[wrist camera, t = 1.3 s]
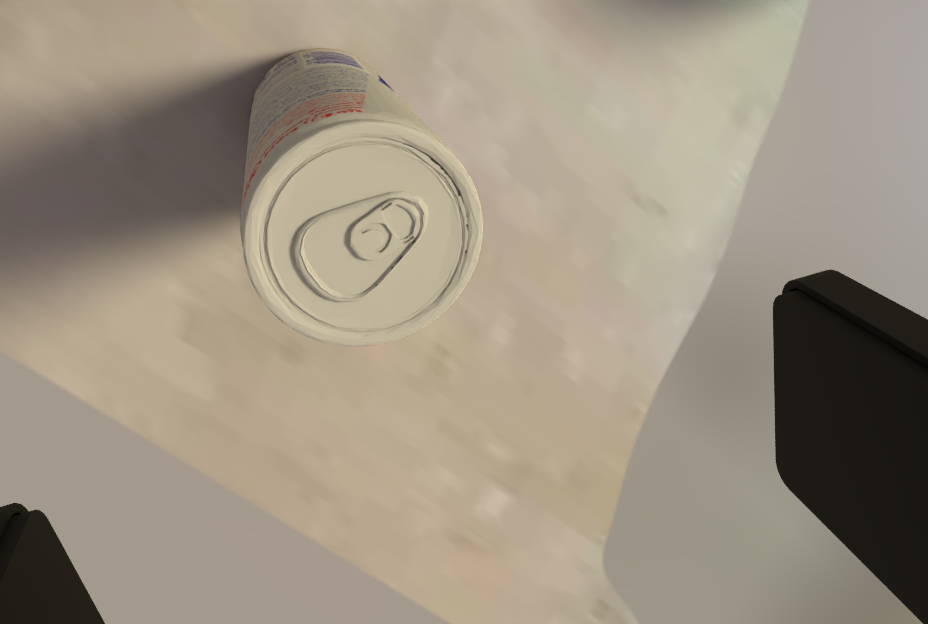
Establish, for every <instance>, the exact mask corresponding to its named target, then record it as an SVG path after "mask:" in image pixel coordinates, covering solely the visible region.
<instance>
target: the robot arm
mask: <svg viewBox="0 0 928 624" xmlns="http://www.w3.org/2000/svg"><path fill="white" fill-rule="evenodd" d="M773 335H774V387H775V388H774V391H775V440H776V441H775V444H776V445H775V447H776V465H777V469H778V472H779V474H780V476H781V479H782V480H783V482H784V484H785V485H786V486H787V487H788V488H789V490H790V491H791V492H793V493H794V495H796V497H797V498H798V499H799V500H800V501H801V502H802V503H803V504H805V506H806V507H808V509H809V510H811V512H812V513H814V515H816V517H817V518H818V519H819V520H820V521H821V522H822V523H823V524H824V525H825V526H826V527H827V528H828V529H829V530H831V532H832V533H833V534H834V535H836V537H837V538H838V539H839V540H840V541H841V542H842V543H843V544H845V546H846V547H847V548H848V549H849V550H850V551H851V552H852V553H853V554H854V555H855V556H856V557H857V558H858V559H859V560H860V561H861V562H862V563H863V564H864V565H865V566H866V567H867V568H868V569H869V570H870V571H871V572H872V573H873V574H874V575H875V576H876V577H877V578H878V579H879V580H880V581H881V582H882V583H883V584H884V585H885V586H886V587H887V588H888V589H889V590H890V591H891V592H892V593H893V594H894V595H895V596H896V597H897V598H898V599H899V600H900V601H901V602H902V603H903V604H904V605H905V606H906V607H907V608H908V609H909V610H910V611H911V612H912V613H913V614H914V615H915V616H916V617H917V618H918V619H919V620H920V621H921V622H922V623H923V624H928V320H927V319H925V318H924V317H922V316H920V315H918V314H916V313H914V312H912V311H911V310H909V309H907V308H905V307H903V306H901V305H899V304H897V303H896V302H894V301H892V300H890V299H888V298H886V297H884V296H882V295H881V294H879V293H877V292H875V291H873V290H871V289H869V288H868V287H866V286H864V285H862V284H860V283H858V282H856V281H855V280H853V279H851V278H849V277H847V276H845V275H843V274H841V273H840V272H838V271H834V270H826V271H823V272H819V273H816V274H812V275H809V276H805V277H802V278H798V279H795V280H791V281H789V282H788V283H787V284H785V286H784V289H783V291H782V295H779V296H777V297H776V298H775V301H774V303H773ZM0 624H105V623H104V621H103V619H102V617H101V616H100V614H99V612H98V610H97V608H96V606H95V605H94V603H93V601H92V599H91V597H90V595H89V594H88V592H87V590H86V588H85V586H84V584H83V583H82V581H81V579H80V577H79V575H78V573H77V572H76V570H75V568H74V566H73V564H72V562H71V561H70V559H69V557H68V555H67V553H66V551H65V550H64V548H63V546H62V544H61V542H60V541H59V539H58V537H57V535H56V533H55V531H54V529H53V528H52V526H51V524H50V522H49V521H48V519H47V517H46V516H45V514H44V513H42V512H41V511H40V510H33V511H30V512H29V511H28V510H27V509H26V508H25V507H24V506H23V505H21V504H18V503H13V504H9V505H6V506H2V507H0Z"/></svg>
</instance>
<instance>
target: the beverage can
mask: <svg viewBox="0 0 928 624" xmlns="http://www.w3.org/2000/svg"><path fill="white" fill-rule="evenodd" d="M240 232H241V239H242V246H243V251H244V260H245V264H246V267H247V271H248V274H249V277H250V279H251V282H252V284H253V286H254V288H255V290H256V292H257V294H258V295H259V297H260V298H261V300H262V301H263V302H264V304H265V305H266V306H267V307H268V308H269V310H270V311H271V312H272V313H273V314H274V315H275V316H276V317H277V318H278V319H280V320H281V321H282V322H284V323H285V324H286V325H287V326H289V327H291V328H292V329H294V330H296V331H297V332H299V333H301V334H302V335H304V336H306V337H309V338H312V339H315V340H318V341H321V342H324V343H328V344H333V345H338V346H372V345H379V344H383V343H387V342H391V341H394V340H397V339H400V338H403V337H406V336H408V335H410V334H412V333H414V332H416V331H418V330H420V329H421V328H423V327H425V326H426V325H428V324H429V323H431V322H432V321H434V320H435V319H437V318H438V317H439V316H440V315H442V314H443V313H444V312H445V311H446V310H447V309H448V308H449V307H450V306H451V305H452V304H453V303H454V302H455V300H456V299H457V298H458V296H459V295H460V294H461V292H462V291H463V290H464V288H465V286H466V285H467V283H468V281H469V280H470V278H471V276H472V273H473V271H474V269H475V266H476V264H477V261H478V257H479V254H480V249H481V243H482V238H483V219H482V212H481V206H480V201H479V197H478V194H477V191H476V189H475V186H474V184H473V181H472V180H471V178H470V176H469V175H468V173H467V171H466V170H465V168H464V166H463V165H462V164H461V163H460V161H459V160H458V159H457V158H456V157H455V156H454V155H453V154H452V152H451V151H450V150H449V148H448V147H447V146H446V145H445V144H444V143H443V142H442V141H441V140H440V139H439V138H438V137H437V136H436V134H435V133H434V132H433V131H432V130H431V129H430V128H429V127H428V126H427V125H426V124H425V123H424V122H423V121H422V120H421V119H420V118H419V117H418V116H417V115H416V114H415V113H414V112H413V111H412V110H411V108H410V107H409V106H408V105H407V104H406V103H405V102H404V101H403V100H402V99H401V98H400V97H399V96H398V95H397V94H396V93H395V92H394V91H393V90H392V89H391V88H390V87H389V86H388V85H387V84H386V82H385V81H384V80H383V79H382V78H381V77H380V76H379V75H378V74H377V73H376V72H375V71H374V70H373V69H372V68H371V67H370V66H368V65H367V64H366V63H365V62H363V61H362V60H360V59H359V58H357V57H355V56H353V55H351V54H348V53H345V52H343V51H339V50H334V49H326V48H316V49H308V50H303V51H300V52H297V53H294V54H292V55H290V56H288V57H286V58H284V59H283V60H281V61H279V62H278V63H277V64H276V65H275V66H273V67H272V68H271V69H270V70H269V71H268V72H267V74H266V75H265V76H264V77H263V79H262V80H261V82H260V84H259V86H258V87H257V89H256V92H255V95H254V97H253V100H252V106H251V111H250V124H249V134H248V144H247V154H246V164H245V174H244V184H243V194H242V204H241V214H240Z"/></svg>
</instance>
